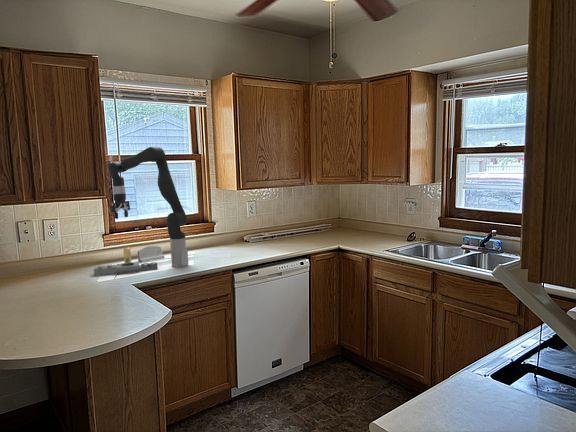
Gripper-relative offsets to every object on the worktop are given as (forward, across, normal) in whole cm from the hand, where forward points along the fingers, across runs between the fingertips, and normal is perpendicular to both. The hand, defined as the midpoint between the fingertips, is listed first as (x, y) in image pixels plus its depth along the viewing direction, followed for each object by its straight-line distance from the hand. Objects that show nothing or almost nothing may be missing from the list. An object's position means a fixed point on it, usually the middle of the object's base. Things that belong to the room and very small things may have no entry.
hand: (121, 217), depth 283 cm
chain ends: (+29, -21, -22) cm, 42 cm away
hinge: (+29, +8, -14) cm, 33 cm away
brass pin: (+29, -13, -14) cm, 35 cm away
